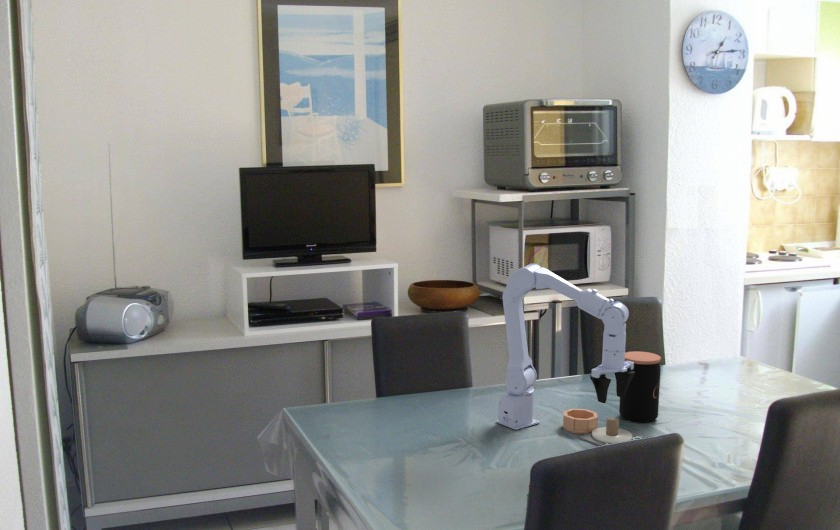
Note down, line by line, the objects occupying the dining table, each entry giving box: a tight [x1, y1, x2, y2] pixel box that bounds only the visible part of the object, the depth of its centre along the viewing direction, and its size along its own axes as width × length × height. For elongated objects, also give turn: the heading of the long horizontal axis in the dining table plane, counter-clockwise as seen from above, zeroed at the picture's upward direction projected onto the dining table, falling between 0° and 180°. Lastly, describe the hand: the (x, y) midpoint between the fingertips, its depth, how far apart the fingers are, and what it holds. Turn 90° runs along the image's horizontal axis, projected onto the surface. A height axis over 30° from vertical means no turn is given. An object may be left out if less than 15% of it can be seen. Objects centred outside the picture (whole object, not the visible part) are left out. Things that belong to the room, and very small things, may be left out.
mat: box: [578, 427, 645, 447], centre depth 224 cm, size 14×11×1 cm
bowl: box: [562, 408, 599, 435], centre depth 231 cm, size 9×9×4 cm
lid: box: [592, 416, 632, 444], centre depth 224 cm, size 10×10×5 cm
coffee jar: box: [618, 350, 662, 424], centre depth 239 cm, size 11×11×18 cm
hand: (611, 399), depth 224 cm, fingers open, 7 cm apart
